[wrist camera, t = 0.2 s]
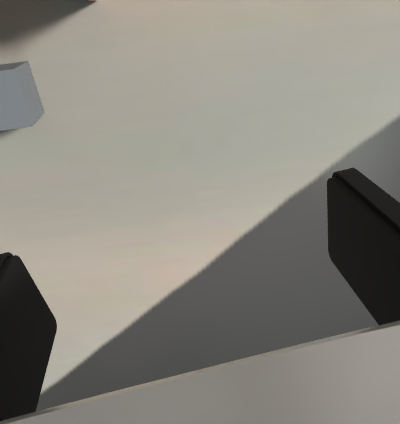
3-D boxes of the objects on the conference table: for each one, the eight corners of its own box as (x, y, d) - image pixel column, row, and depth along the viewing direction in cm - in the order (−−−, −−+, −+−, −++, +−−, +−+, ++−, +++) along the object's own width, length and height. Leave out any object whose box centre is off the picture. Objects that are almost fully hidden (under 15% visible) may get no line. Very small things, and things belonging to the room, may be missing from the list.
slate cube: (-25, 67, 35) (-48, 76, 31) (28, 61, 36) (12, 69, 31) (-5, 119, 38) (-24, 134, 33) (44, 112, 38) (32, 126, 34)
